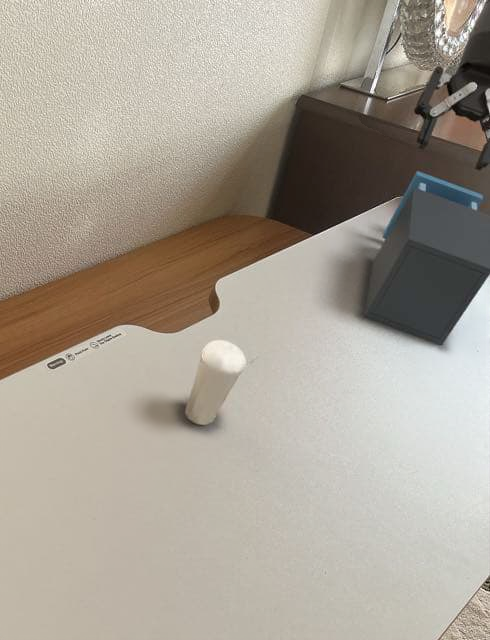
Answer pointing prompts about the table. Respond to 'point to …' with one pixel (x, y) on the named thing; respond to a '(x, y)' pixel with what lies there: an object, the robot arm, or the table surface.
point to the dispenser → (429, 266)
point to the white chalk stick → (214, 380)
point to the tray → (440, 190)
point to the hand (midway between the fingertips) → (451, 157)
